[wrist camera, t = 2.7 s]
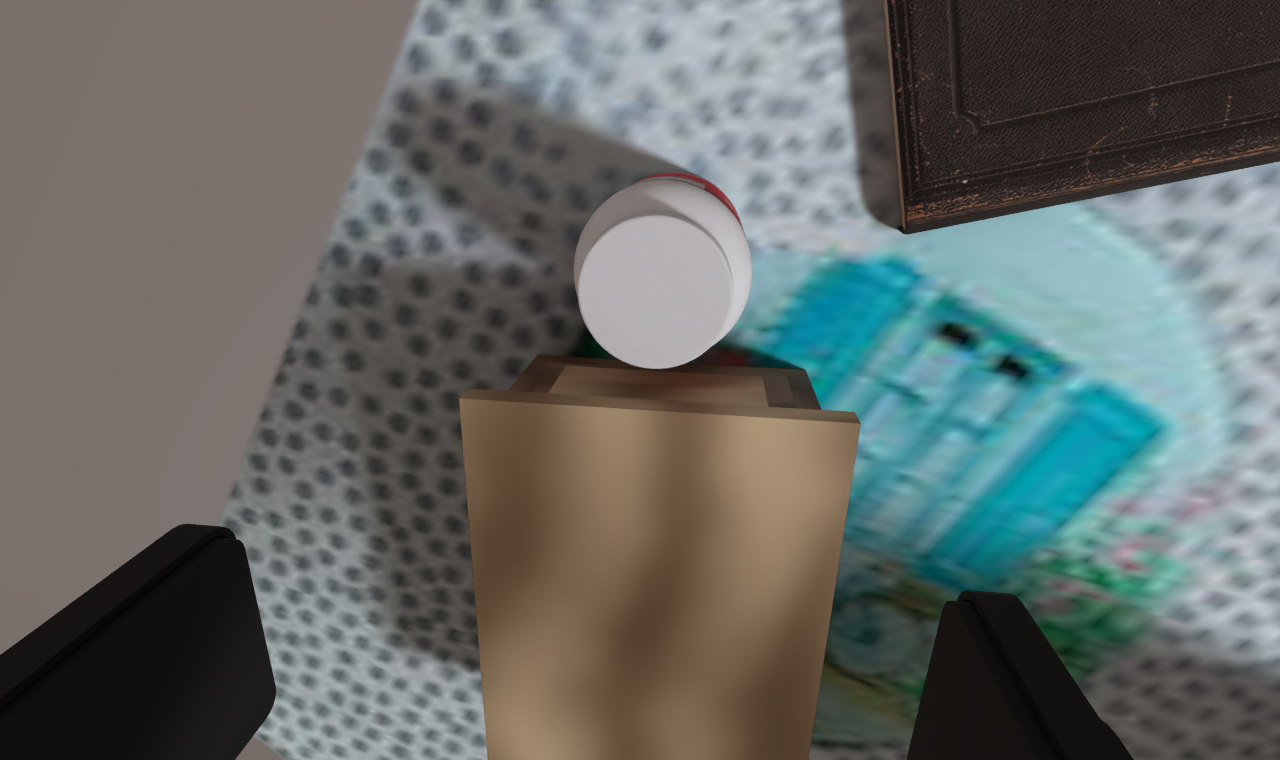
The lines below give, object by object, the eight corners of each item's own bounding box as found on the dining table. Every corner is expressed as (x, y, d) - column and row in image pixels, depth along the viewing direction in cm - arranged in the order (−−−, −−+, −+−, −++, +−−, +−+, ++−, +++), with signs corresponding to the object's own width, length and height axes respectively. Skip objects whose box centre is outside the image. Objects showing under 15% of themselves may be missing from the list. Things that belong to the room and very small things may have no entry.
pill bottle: (733, 313, 30) (745, 403, 20) (604, 301, 31) (550, 383, 20) (750, 175, 28) (773, 195, 18) (611, 164, 29) (554, 178, 18)
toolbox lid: (838, 381, 26) (878, 457, 20) (780, 798, 34) (795, 945, 28) (494, 361, 27) (430, 427, 21) (518, 768, 35) (477, 902, 29)
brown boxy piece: (805, 369, 31) (834, 443, 23) (763, 718, 39) (776, 856, 31) (537, 354, 32) (484, 420, 25) (549, 695, 40) (511, 824, 32)
